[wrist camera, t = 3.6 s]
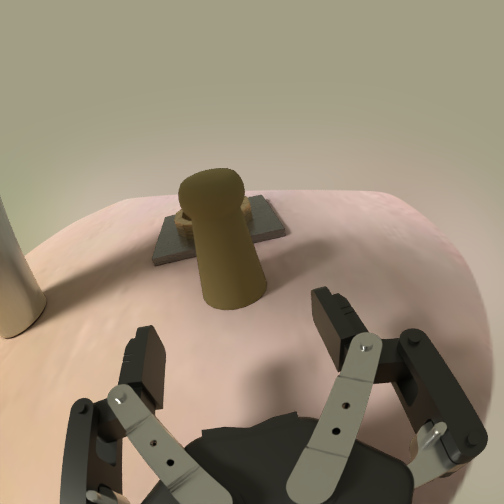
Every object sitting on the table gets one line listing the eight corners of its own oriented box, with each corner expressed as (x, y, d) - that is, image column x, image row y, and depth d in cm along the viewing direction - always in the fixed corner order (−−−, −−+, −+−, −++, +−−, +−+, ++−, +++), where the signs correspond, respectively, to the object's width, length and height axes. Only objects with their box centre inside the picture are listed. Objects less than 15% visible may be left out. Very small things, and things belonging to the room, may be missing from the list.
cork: (228, 265, 30) (204, 163, 25) (278, 277, 27) (260, 160, 21) (190, 299, 26) (153, 186, 21) (242, 317, 23) (209, 185, 17)
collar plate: (154, 266, 33) (146, 244, 31) (166, 222, 45) (161, 205, 44) (285, 235, 34) (282, 212, 32) (262, 200, 46) (259, 182, 45)
